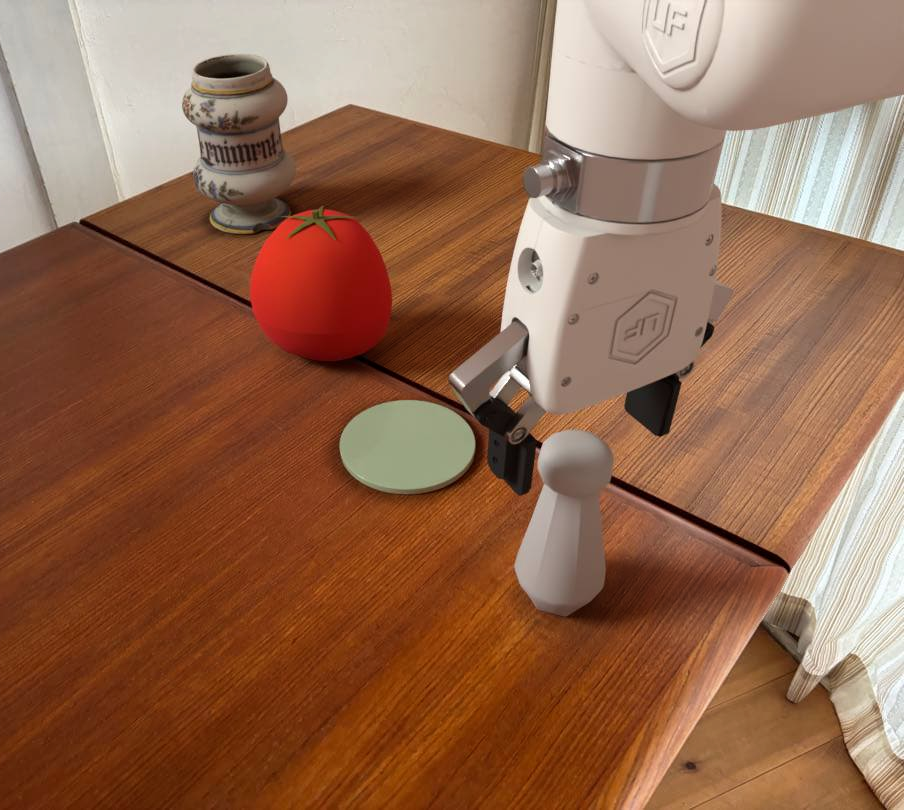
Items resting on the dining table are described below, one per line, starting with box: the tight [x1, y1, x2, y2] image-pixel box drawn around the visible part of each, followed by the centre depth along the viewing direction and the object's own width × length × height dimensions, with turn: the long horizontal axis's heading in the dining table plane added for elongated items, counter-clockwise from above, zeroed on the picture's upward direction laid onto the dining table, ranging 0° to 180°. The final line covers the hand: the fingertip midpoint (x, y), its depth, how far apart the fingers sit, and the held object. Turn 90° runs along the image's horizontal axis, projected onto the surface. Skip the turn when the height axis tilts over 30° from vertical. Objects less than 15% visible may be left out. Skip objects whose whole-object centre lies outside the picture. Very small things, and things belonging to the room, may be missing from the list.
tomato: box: [249, 205, 393, 362], centre depth 75 cm, size 13×11×14 cm
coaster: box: [339, 399, 477, 495], centre depth 69 cm, size 11×11×1 cm
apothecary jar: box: [181, 53, 297, 235], centre depth 98 cm, size 12×12×18 cm
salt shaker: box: [513, 429, 615, 617], centre depth 53 cm, size 6×6×13 cm
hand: (579, 449), depth 49 cm, fingers open, 9 cm apart
